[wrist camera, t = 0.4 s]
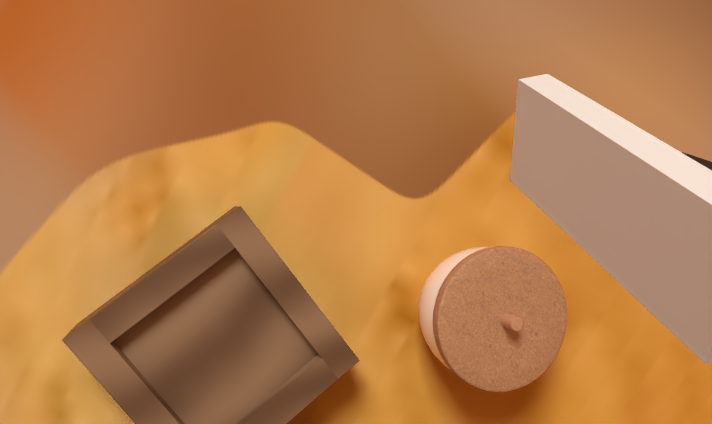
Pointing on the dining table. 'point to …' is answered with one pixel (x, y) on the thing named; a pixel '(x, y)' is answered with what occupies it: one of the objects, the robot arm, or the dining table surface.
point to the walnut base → (213, 335)
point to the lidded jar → (494, 316)
